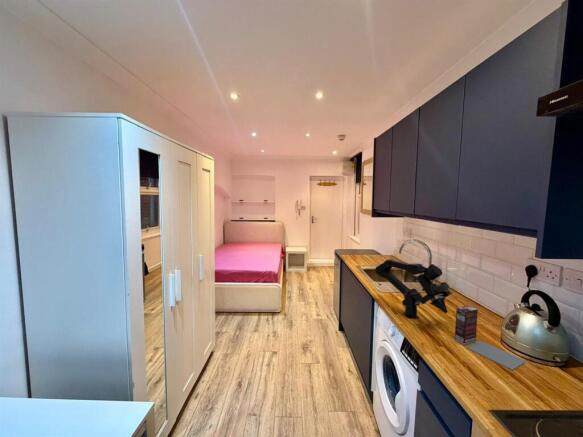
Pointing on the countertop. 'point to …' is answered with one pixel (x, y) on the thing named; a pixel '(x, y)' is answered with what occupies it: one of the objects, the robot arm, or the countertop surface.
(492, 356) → the mat
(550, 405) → the countertop surface
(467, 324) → the supplement box
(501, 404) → the countertop surface
